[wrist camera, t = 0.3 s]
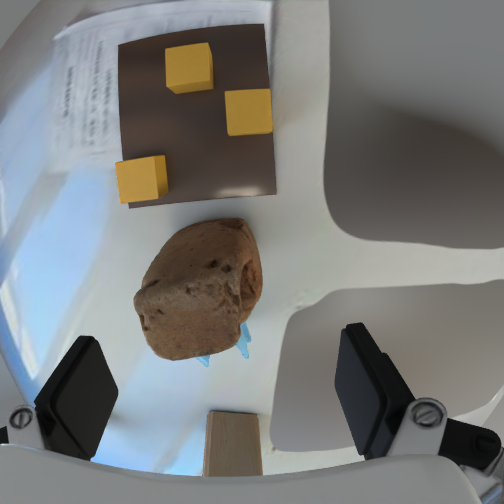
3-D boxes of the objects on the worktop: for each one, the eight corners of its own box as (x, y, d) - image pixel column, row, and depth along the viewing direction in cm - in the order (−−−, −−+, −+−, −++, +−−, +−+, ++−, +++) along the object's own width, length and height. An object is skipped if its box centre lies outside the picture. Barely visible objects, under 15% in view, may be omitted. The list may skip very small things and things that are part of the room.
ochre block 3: (226, 98, 33) (224, 91, 29) (266, 96, 34) (270, 88, 29) (229, 136, 35) (227, 133, 30) (268, 133, 35) (273, 130, 30)
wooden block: (206, 435, 54) (200, 513, 35) (208, 408, 51) (200, 496, 32) (251, 438, 55) (256, 516, 36) (259, 412, 52) (265, 499, 33)
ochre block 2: (174, 60, 31) (165, 48, 26) (212, 54, 31) (208, 42, 27) (175, 94, 33) (166, 86, 28) (214, 89, 33) (210, 80, 28)
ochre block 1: (129, 160, 35) (115, 162, 31) (164, 155, 36) (154, 155, 31) (134, 196, 37) (120, 203, 32) (168, 192, 37) (158, 198, 32)
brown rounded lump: (187, 276, 42) (153, 371, 23) (170, 228, 39) (113, 297, 20) (261, 257, 41) (278, 347, 22) (247, 205, 39) (253, 261, 20)
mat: (119, 45, 30) (118, 45, 30) (263, 24, 30) (263, 23, 30) (129, 208, 38) (129, 208, 38) (276, 194, 38) (276, 194, 38)
